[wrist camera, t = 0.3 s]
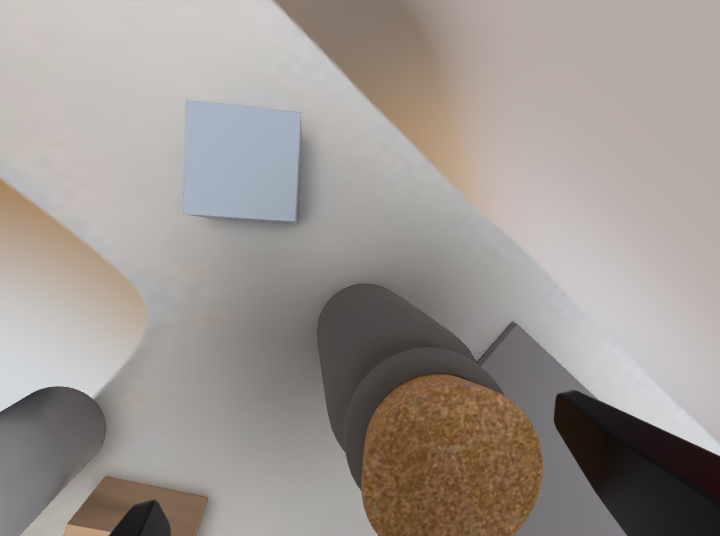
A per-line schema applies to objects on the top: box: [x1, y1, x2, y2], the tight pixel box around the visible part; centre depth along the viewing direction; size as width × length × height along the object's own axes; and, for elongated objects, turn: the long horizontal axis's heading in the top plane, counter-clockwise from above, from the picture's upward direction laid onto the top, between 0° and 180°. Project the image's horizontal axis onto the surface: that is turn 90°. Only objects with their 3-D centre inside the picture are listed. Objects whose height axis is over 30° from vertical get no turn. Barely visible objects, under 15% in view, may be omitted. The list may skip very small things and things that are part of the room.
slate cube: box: [183, 100, 301, 224], centre depth 20 cm, size 5×5×5 cm
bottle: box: [317, 284, 543, 536], centre depth 17 cm, size 6×6×15 cm
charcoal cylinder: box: [0, 387, 106, 536], centre depth 19 cm, size 5×5×7 cm
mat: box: [477, 322, 627, 536], centre depth 27 cm, size 18×12×1 cm, turn 48°
